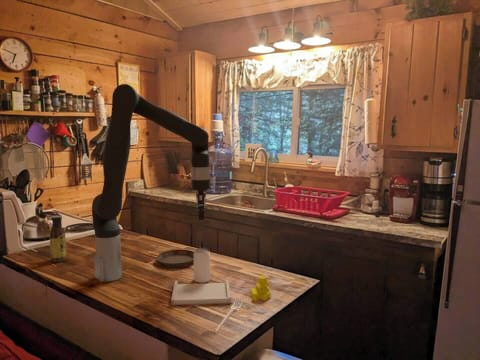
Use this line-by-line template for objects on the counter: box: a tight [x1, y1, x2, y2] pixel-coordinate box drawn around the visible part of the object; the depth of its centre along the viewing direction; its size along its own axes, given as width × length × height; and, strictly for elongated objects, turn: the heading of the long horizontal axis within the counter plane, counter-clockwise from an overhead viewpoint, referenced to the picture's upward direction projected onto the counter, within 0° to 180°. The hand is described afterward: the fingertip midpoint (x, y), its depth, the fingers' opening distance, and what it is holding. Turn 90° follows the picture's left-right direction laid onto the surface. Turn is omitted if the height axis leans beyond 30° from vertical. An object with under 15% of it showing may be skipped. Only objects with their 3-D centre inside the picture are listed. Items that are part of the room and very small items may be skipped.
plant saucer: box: [156, 248, 195, 268], centre depth 170 cm, size 18×18×3 cm
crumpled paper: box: [250, 274, 272, 302], centre depth 135 cm, size 6×8×8 cm
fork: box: [214, 297, 244, 332], centre depth 121 cm, size 3×20×2 cm, turn 159°
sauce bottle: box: [49, 215, 67, 263], centre depth 169 cm, size 6×6×20 cm
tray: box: [170, 279, 232, 306], centre depth 137 cm, size 16×20×2 cm
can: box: [193, 247, 211, 284], centre depth 149 cm, size 6×6×12 cm
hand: (201, 217), depth 157 cm, fingers open, 8 cm apart
